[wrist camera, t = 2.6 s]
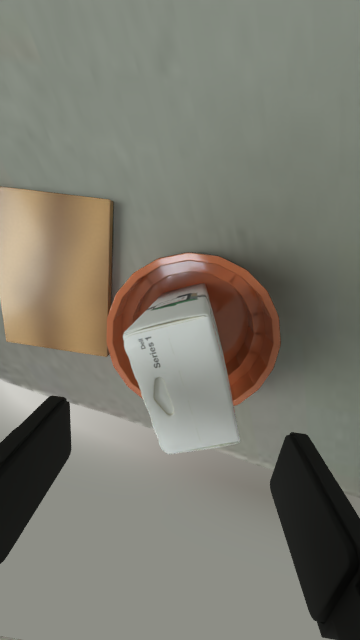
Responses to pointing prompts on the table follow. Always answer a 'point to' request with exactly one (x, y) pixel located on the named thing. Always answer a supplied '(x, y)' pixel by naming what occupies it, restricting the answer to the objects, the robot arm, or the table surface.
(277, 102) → the table surface
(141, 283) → the bowl
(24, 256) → the wooden board
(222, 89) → the table surface
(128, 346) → the ink box
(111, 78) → the table surface
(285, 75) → the table surface
